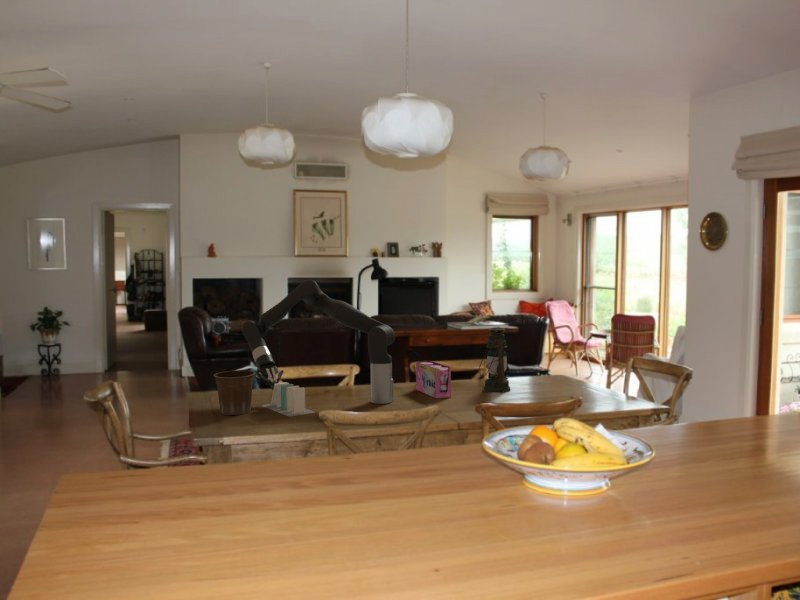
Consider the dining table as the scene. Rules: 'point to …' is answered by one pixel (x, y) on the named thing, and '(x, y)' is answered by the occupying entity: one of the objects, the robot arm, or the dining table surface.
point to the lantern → (496, 362)
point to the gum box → (433, 379)
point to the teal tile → (284, 396)
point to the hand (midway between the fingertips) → (276, 390)
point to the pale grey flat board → (285, 410)
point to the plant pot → (235, 391)
